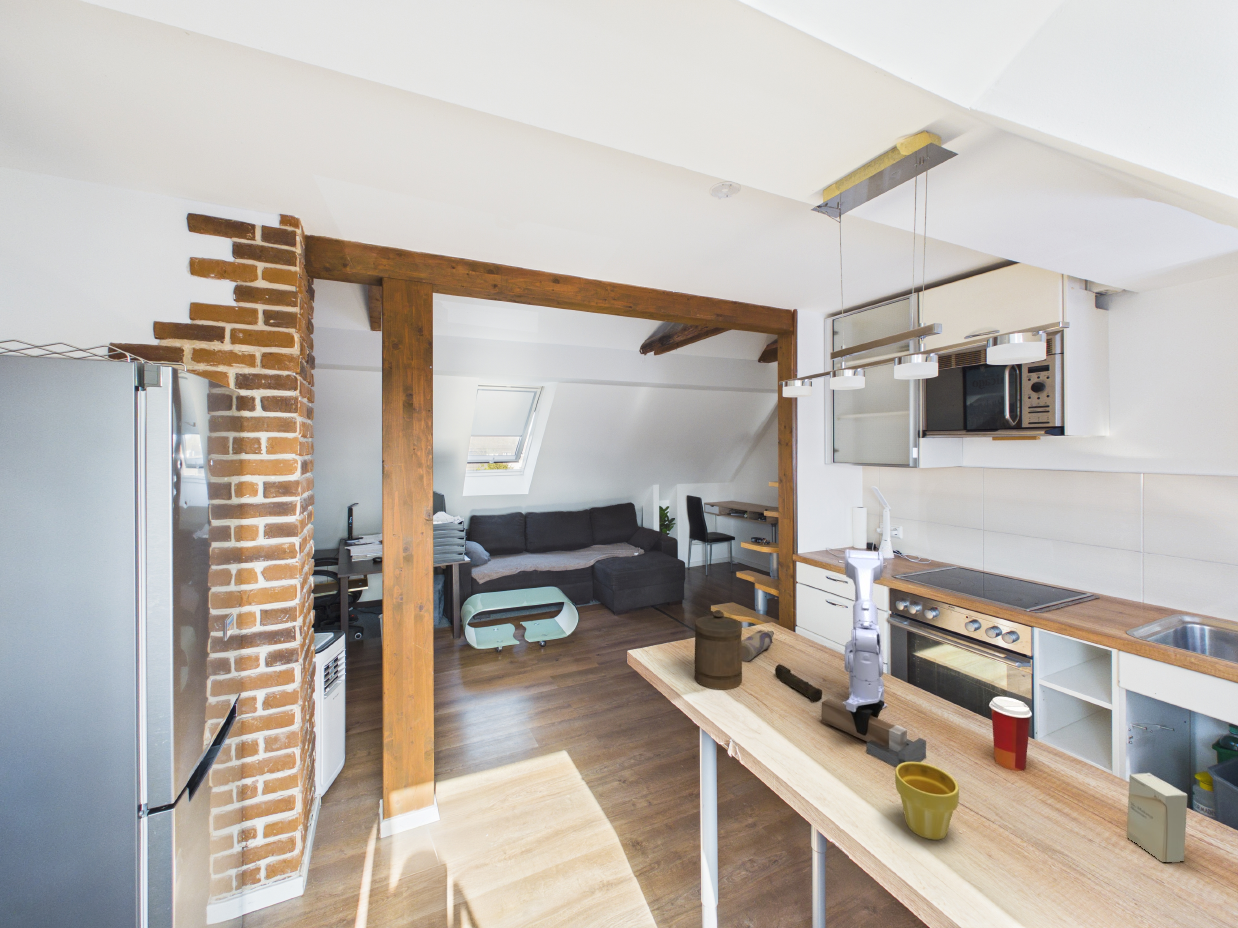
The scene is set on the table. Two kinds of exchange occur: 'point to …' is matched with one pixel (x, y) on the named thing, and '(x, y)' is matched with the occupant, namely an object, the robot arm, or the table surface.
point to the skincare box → (1157, 817)
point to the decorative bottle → (756, 644)
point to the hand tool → (798, 683)
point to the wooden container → (718, 651)
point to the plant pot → (926, 798)
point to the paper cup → (1010, 732)
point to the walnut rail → (876, 730)
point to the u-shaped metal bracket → (907, 754)
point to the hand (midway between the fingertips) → (865, 730)
